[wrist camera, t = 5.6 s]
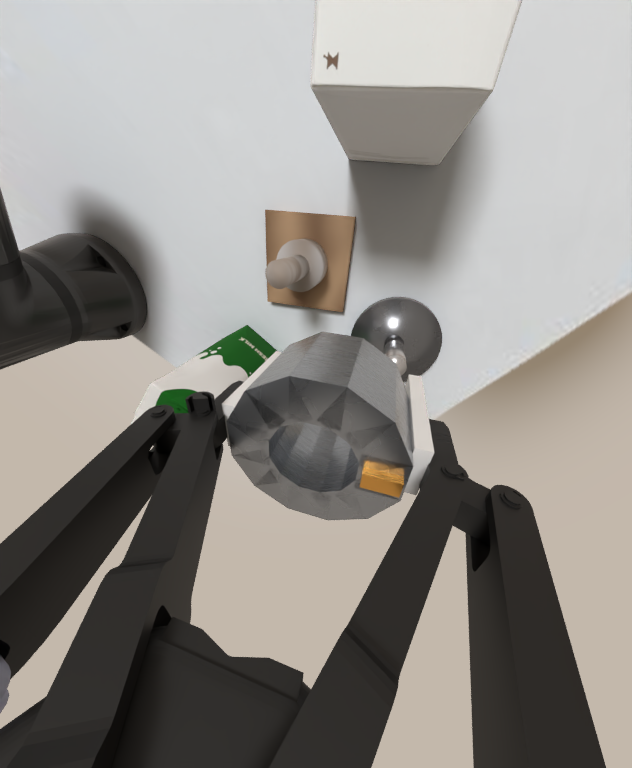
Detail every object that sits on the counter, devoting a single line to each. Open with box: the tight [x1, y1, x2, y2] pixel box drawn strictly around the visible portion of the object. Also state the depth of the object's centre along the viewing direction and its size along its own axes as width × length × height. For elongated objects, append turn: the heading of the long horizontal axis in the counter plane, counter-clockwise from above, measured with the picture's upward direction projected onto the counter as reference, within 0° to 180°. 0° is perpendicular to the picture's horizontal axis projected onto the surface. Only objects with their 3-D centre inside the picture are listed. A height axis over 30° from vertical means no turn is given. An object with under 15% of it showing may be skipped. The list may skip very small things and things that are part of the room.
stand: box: [265, 210, 356, 312], centre depth 27 cm, size 10×10×10 cm
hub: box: [351, 297, 442, 381], centre depth 30 cm, size 11×11×8 cm
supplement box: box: [311, 0, 522, 165], centre depth 16 cm, size 9×9×15 cm
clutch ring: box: [227, 332, 413, 520], centre depth 13 cm, size 8×8×5 cm
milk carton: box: [131, 325, 277, 424], centre depth 31 cm, size 9×9×20 cm
